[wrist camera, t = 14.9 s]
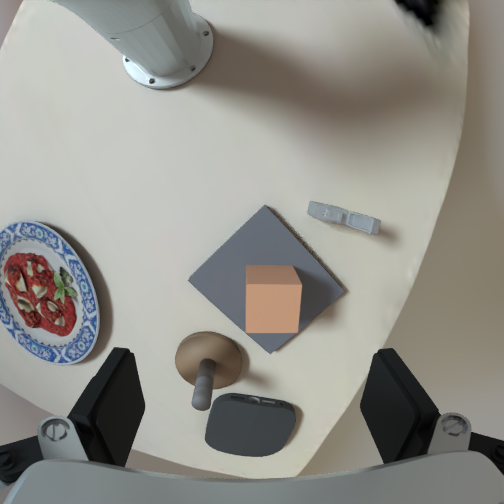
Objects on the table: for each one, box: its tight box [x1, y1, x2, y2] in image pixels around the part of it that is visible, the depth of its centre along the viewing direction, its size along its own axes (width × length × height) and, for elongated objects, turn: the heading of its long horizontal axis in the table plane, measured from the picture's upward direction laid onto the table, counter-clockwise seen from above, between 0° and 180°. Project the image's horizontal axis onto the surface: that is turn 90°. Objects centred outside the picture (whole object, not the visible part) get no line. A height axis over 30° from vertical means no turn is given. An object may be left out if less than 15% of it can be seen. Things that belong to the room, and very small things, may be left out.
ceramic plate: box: [0, 220, 100, 365], centre depth 41 cm, size 26×26×3 cm
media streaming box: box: [205, 393, 296, 457], centre depth 48 cm, size 15×15×3 cm
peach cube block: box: [246, 265, 302, 333], centre depth 37 cm, size 6×6×7 cm
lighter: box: [307, 201, 381, 235], centre depth 36 cm, size 7×2×8 cm, turn 79°
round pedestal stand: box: [175, 332, 241, 411], centre depth 40 cm, size 10×10×10 cm
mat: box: [188, 205, 344, 354], centre depth 41 cm, size 16×14×2 cm
